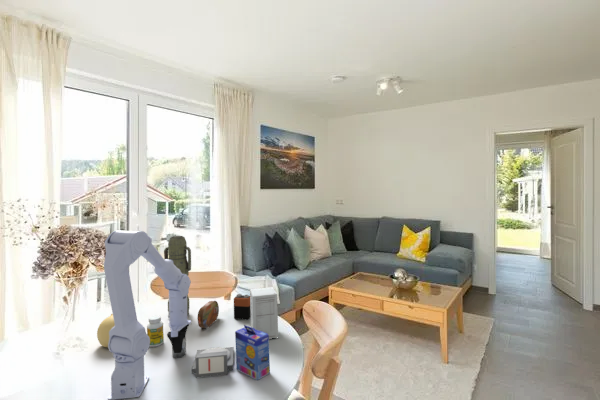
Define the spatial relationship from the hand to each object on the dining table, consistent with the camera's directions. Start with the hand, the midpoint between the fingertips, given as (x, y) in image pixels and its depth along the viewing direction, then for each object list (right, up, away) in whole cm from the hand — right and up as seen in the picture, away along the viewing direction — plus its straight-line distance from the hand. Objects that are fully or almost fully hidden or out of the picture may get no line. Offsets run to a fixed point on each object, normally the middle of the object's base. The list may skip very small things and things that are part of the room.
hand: (179, 349), depth 112 cm
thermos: (-13, -1, +35) cm, 38 cm away
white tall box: (+27, -1, +15) cm, 31 cm away
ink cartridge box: (+26, -2, -11) cm, 28 cm away
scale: (+13, -2, -6) cm, 15 cm away
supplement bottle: (-12, -2, +8) cm, 14 cm away
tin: (+3, -1, +26) cm, 26 cm away
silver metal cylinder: (0, -2, 0) cm, 2 cm away
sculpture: (-26, -2, +9) cm, 27 cm away
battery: (+16, -1, +32) cm, 36 cm away
